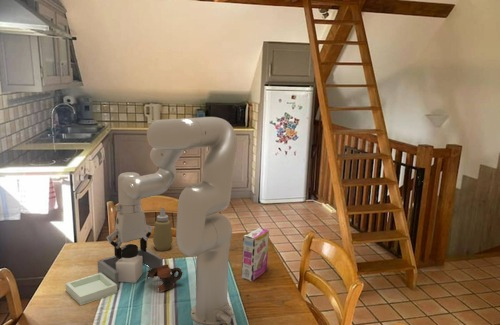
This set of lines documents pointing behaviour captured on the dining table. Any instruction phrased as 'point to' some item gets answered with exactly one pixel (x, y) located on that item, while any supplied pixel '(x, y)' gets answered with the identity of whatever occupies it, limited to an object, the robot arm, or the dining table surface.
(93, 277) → the tray
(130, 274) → the medicine bottle
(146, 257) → the bay
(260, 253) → the candy bar box
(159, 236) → the squeeze bottle
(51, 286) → the dining table surface
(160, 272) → the brown mug
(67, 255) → the dining table surface
